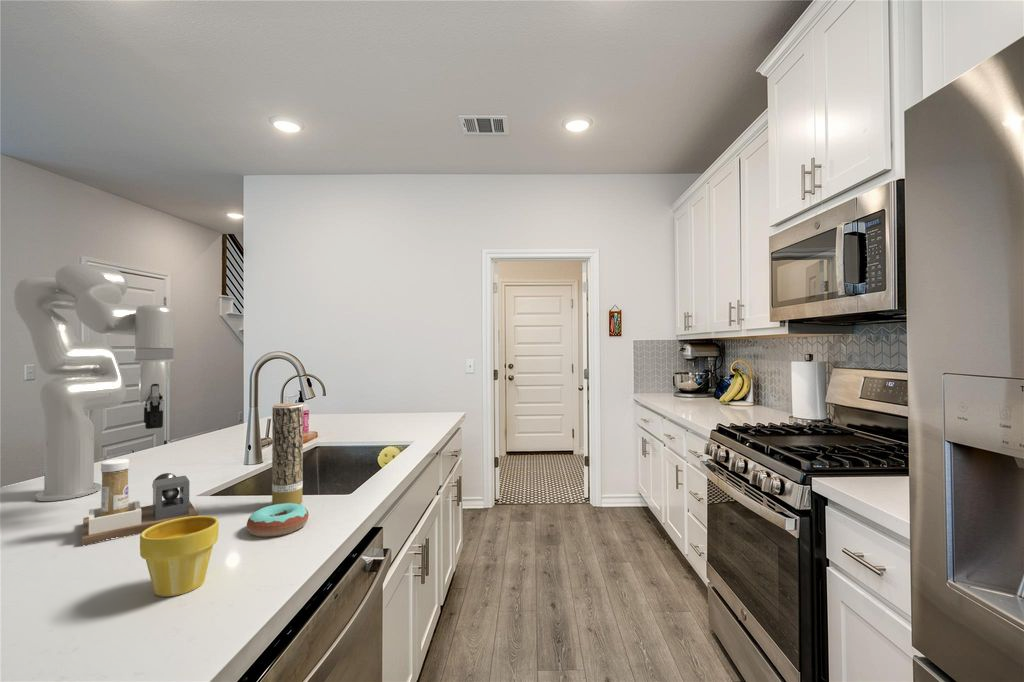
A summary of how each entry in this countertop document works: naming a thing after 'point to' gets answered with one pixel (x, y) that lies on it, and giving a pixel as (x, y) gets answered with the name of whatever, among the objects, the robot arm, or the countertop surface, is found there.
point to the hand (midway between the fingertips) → (153, 425)
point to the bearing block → (173, 507)
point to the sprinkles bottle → (114, 486)
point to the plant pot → (179, 553)
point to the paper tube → (287, 453)
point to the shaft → (169, 493)
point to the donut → (277, 520)
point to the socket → (114, 519)
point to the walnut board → (146, 523)
